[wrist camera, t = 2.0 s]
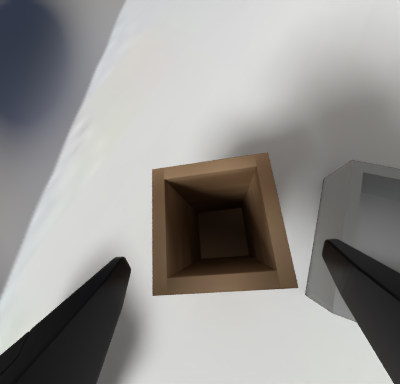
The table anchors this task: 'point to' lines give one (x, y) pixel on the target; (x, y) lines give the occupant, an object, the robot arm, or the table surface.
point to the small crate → (218, 228)
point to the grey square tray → (355, 224)
